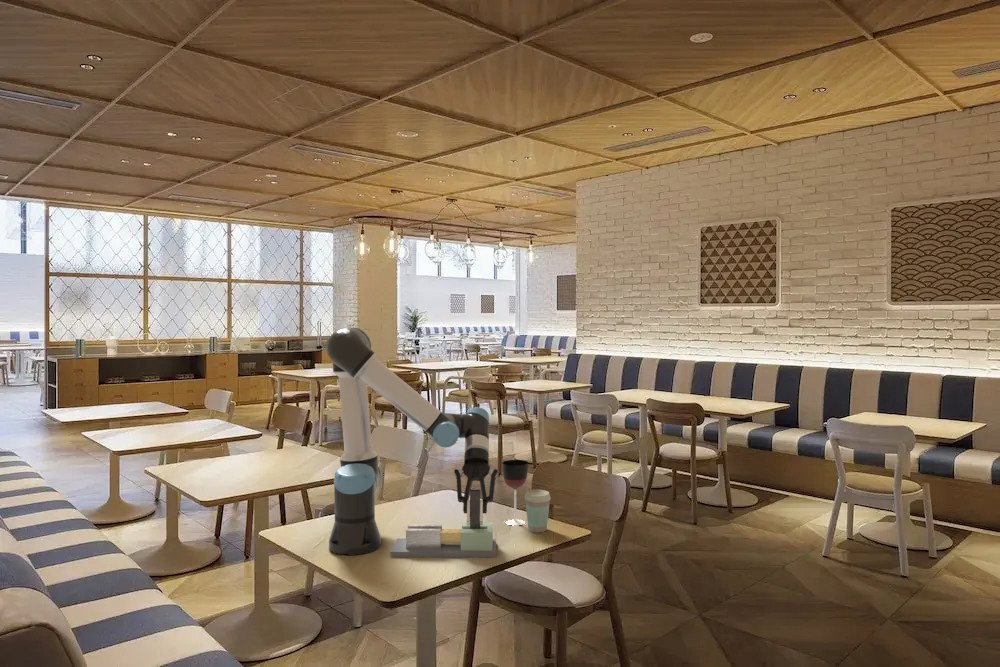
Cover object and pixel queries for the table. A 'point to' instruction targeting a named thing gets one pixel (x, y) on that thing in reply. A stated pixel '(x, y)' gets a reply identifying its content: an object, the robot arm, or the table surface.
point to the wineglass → (515, 481)
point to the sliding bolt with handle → (455, 534)
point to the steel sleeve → (423, 536)
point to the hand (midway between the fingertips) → (474, 522)
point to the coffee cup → (537, 509)
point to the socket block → (477, 538)
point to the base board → (437, 551)
